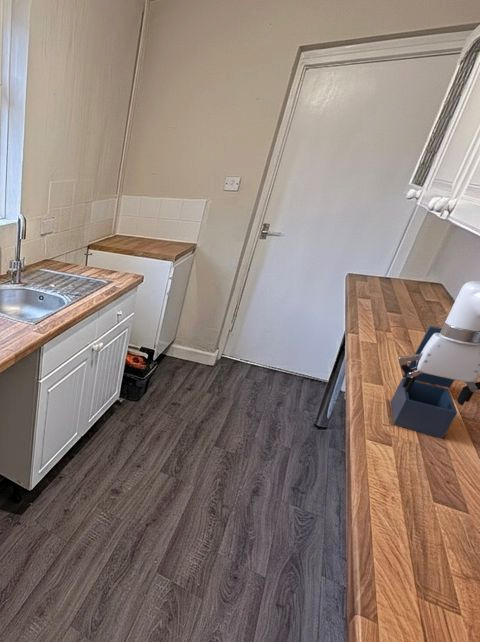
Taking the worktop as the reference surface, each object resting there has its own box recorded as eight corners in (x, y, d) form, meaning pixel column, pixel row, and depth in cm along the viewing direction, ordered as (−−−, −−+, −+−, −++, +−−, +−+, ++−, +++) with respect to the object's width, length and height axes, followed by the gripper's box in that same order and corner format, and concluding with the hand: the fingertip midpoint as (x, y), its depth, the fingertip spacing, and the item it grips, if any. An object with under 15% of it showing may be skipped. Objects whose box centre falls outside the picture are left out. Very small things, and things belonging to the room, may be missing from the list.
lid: (481, 336, 102) (481, 334, 102) (429, 327, 107) (429, 325, 108) (449, 388, 110) (449, 386, 111) (402, 377, 115) (402, 375, 116)
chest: (442, 438, 103) (457, 412, 100) (393, 424, 108) (405, 399, 105) (435, 412, 114) (448, 388, 110) (390, 401, 119) (402, 378, 116)
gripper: (517, 338, 95) (480, 402, 102) (411, 321, 106) (385, 380, 112) (526, 348, 90) (487, 415, 97) (414, 329, 100) (386, 390, 107)
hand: (432, 396), depth 104 cm, fingers open, 9 cm apart
